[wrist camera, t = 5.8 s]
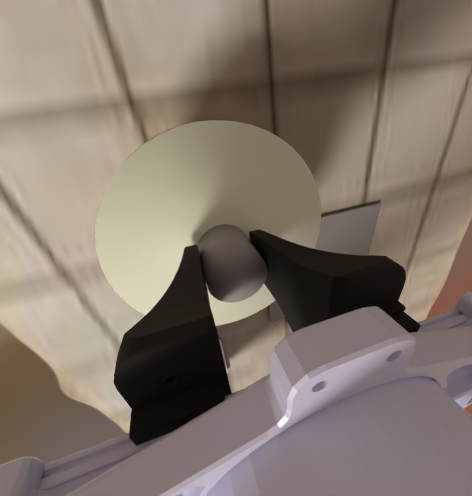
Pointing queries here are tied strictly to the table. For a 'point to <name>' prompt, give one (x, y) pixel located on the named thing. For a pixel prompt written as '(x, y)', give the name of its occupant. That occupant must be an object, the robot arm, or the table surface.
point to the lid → (204, 213)
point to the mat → (342, 237)
